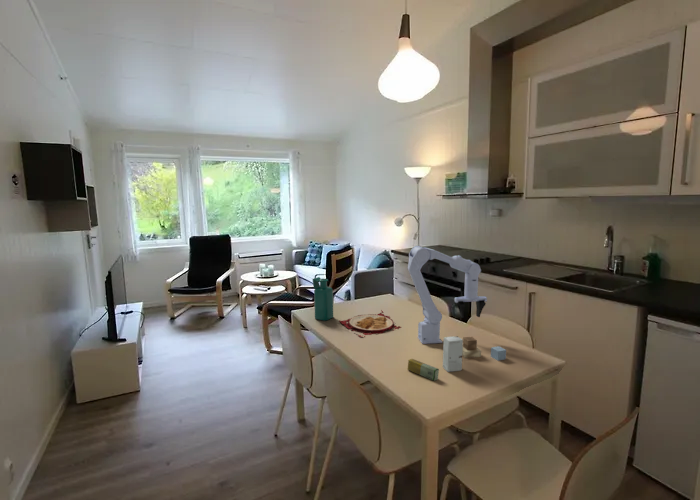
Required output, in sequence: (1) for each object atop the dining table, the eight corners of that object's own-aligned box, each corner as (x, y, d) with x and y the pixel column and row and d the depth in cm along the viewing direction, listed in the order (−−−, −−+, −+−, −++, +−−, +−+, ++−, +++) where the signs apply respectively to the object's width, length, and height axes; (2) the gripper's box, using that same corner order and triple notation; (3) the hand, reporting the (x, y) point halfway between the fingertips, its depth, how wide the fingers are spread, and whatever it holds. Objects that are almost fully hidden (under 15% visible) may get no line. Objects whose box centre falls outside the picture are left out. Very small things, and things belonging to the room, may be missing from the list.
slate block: (497, 360, 143) (498, 351, 143) (490, 356, 147) (491, 347, 147) (505, 359, 145) (506, 349, 144) (498, 355, 149) (498, 346, 148)
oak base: (464, 358, 146) (464, 351, 146) (457, 351, 153) (457, 345, 153) (480, 357, 147) (481, 350, 147) (472, 350, 154) (473, 344, 154)
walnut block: (467, 350, 147) (467, 340, 147) (463, 346, 151) (463, 337, 151) (476, 349, 148) (476, 340, 147) (472, 345, 152) (472, 336, 151)
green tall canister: (334, 317, 199) (334, 278, 196) (325, 321, 192) (324, 281, 189) (320, 314, 204) (319, 276, 201) (311, 318, 197) (310, 279, 194)
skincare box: (447, 372, 134) (448, 341, 133) (442, 367, 139) (442, 337, 137) (462, 370, 136) (463, 339, 134) (456, 365, 140) (457, 335, 138)
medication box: (438, 379, 130) (439, 368, 129) (434, 381, 128) (435, 370, 127) (411, 368, 138) (412, 358, 138) (406, 369, 136) (407, 359, 136)
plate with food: (338, 323, 190) (338, 317, 190) (381, 315, 202) (381, 309, 201) (360, 340, 169) (360, 333, 168) (407, 329, 180) (407, 322, 180)
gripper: (459, 290, 158) (458, 320, 160) (490, 289, 160) (489, 319, 162) (453, 286, 165) (452, 315, 167) (483, 285, 167) (482, 314, 169)
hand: (470, 316), depth 165 cm, fingers open, 7 cm apart
